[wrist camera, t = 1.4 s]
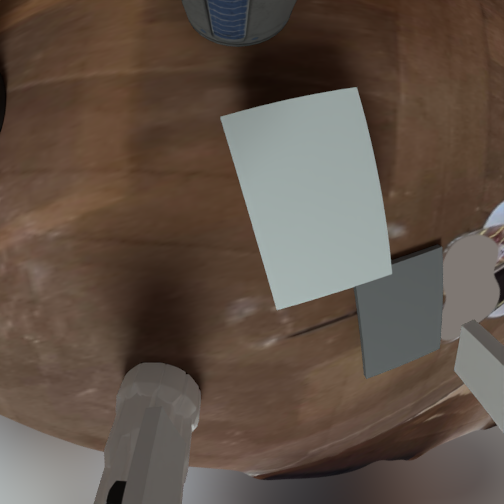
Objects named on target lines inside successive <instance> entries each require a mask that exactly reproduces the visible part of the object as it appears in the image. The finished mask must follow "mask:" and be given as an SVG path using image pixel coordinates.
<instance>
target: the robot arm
mask: <svg viewBox="0 0 504 504" xmlns="http://www.w3.org/2000/svg"><path fill="white" fill-rule="evenodd" d="M4 111H5V87H4V82H3V79H2V76H1V74H0V130H1V127H2V123H3V118H4ZM454 371H455V372H456V373H457V375H458V376H459V377H460V378H461V379H462V381H463V382H464V383H465V384H466V386H467V387H468V388H469V389H470V391H471V392H472V393H473V394H474V396H475V397H476V398H477V399H478V401H479V402H480V403H481V404H482V406H483V407H484V408H485V410H486V411H487V412H488V413H489V415H490V416H491V417H492V419H493V420H494V421H495V423H496V424H497V425H498V427H499V428H500V429H501V431H502V432H503V433H504V346H503V345H502V344H501V343H500V342H499V341H498V340H497V339H495V338H494V337H493V336H492V335H491V334H490V333H489V332H488V331H487V330H485V329H484V328H483V327H482V326H481V325H480V324H479V323H478V322H476V321H475V320H472V321H470V322H468V323H465V324H463V325H462V327H461V334H460V340H459V346H458V352H457V358H456V363H455V368H454ZM185 450H186V443H185V441H184V440H183V438H182V437H181V435H180V434H179V432H178V431H177V429H176V428H175V426H174V425H173V423H172V421H171V420H170V418H169V417H168V415H167V414H166V412H165V410H164V409H163V407H162V406H160V407H149V408H146V409H145V413H144V416H143V420H142V423H141V427H140V431H139V435H138V438H137V442H136V446H135V450H134V454H133V458H132V462H131V466H130V470H129V474H128V478H127V481H117V480H116V481H115V483H114V484H113V486H112V487H111V488H110V490H109V492H108V496H107V500H106V502H107V503H106V504H180V495H181V486H182V476H183V467H184V458H185Z"/></svg>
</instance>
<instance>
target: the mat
mask: <svg viewBox="0 0 504 504" xmlns="http://www.w3.org/2000/svg"><path fill="white" fill-rule="evenodd" d="M391 267H392V274H391V275H388V276H385V277H382V278H379V279H376V280H373V281H370V282H367V283H364V284H361V285H358V286H355V287H354V292H355V299H356V306H357V314H358V322H359V330H360V339H361V348H362V358H363V369H364V375H365V377H366V379H367V378H370V377H373V376H376V375H378V374H381V373H383V372H386V371H389V370H391V369H394V368H396V367H399V366H401V365H403V364H406V363H408V362H411V361H413V360H415V359H418V358H420V357H422V356H424V355H427V354H429V353H431V352H433V351H435V350H437V349H440V339H441V325H442V303H443V257H442V246H440V245H438V244H437V245H434V246H432V247H429V248H426V249H423V250H420V251H417V252H414V253H412V254H409V255H406V256H403V257H400V258H397V259H394V260H391Z"/></svg>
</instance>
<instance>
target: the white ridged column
mask: <svg viewBox="0 0 504 504" xmlns="http://www.w3.org/2000/svg"><path fill="white" fill-rule="evenodd" d="M200 404H201V391H200V390H199V386H198V385H197V384H196V382H195V381H194V380H193V378H192V377H191V376H190V375H189V374H186V372H185V371H183V370H182V369H180V368H178V367H175V366H172V365H169V364H165V363H142V364H141V363H140V364H138V365H137V366H135V367H134V368H132V369H131V370H130V371H129V372H128V373H127V374H126V375H125V377H124V379H123V382H122V384H121V386H120V389H119V391H118V394H117V400H116V417H115V420H114V423H113V426H112V429H111V432H110V435H109V437H108V440H107V443H106V446H105V449H104V456H105V468H104V471H103V475H102V478H101V481H100V484H99V488H98V491H97V495H96V498H95V502H94V504H106V503H107V502H106V500H107V496H108V492H109V490H110V488H111V487H112V486H113V484H114V483H115V481H116V480H117V481H127V478H128V474H129V470H130V466H131V462H132V458H133V454H134V450H135V446H136V442H137V438H138V435H139V431H140V427H141V423H142V420H143V416H144V413H145V409H146V408H149V407H160V406H162V407H163V409H164V410H165V412H166V414H167V415H168V417H169V418H170V420H171V421H172V423H173V425H174V426H175V428H176V429H177V431H178V432H179V434H180V435H181V437H182V438H183V440H184V441H185V443H186V450H185V458H184V467H183V476H182V486H181V495H180V504H182V495H183V485H184V483H185V480H186V476H187V472H188V464H189V454H190V445H191V435H192V432H193V431H194V429H195V428H196V427H197V425H198V422H199V415H200Z"/></svg>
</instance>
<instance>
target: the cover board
mask: <svg viewBox="0 0 504 504" xmlns="http://www.w3.org/2000/svg"><path fill="white" fill-rule="evenodd" d="M220 118H221V121H222V125H223V128H224V131H225V135H226V138H227V141H228V145H229V148H230V151H231V155H232V158H233V161H234V165H235V168H236V172H237V175H238V178H239V182H240V185H241V188H242V192H243V195H244V199H245V202H246V205H247V209H248V212H249V216H250V219H251V222H252V226H253V229H254V233H255V236H256V240H257V243H258V246H259V250H260V253H261V257H262V260H263V264H264V267H265V270H266V274H267V277H268V281H269V284H270V288H271V291H272V295H273V298H274V302H275V305H276V309H277V310H279V309H283V308H286V307H290V306H293V305H297V304H300V303H303V302H307V301H310V300H313V299H317V298H320V297H323V296H326V295H330V294H333V293H336V292H339V291H342V290H346V289H349V288H352V287H355V286H358V285H361V284H364V283H367V282H370V281H373V280H376V279H379V278H382V277H385V276H388V275H391V274H392V267H391V257H390V248H389V240H388V232H387V225H386V218H385V212H384V205H383V199H382V193H381V188H380V182H379V177H378V172H377V167H376V162H375V157H374V153H373V148H372V144H371V139H370V135H369V131H368V127H367V123H366V119H365V115H364V111H363V108H362V104H361V100H360V97H359V93H358V90H357V87H354V88H347V89H341V90H335V91H329V92H323V93H318V94H313V95H307V96H303V97H298V98H293V99H288V100H284V101H279V102H275V103H271V104H267V105H263V106H259V107H255V108H251V109H247V110H243V111H240V112H236V113H233V114H229V115H226V116H222V117H220Z"/></svg>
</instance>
